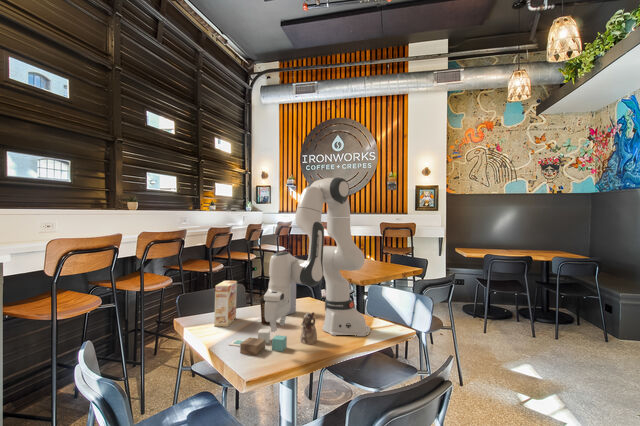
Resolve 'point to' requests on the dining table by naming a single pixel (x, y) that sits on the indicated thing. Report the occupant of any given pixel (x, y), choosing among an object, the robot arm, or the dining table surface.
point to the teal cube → (279, 343)
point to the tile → (236, 342)
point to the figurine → (308, 330)
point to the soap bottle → (292, 298)
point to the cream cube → (264, 335)
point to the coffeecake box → (225, 303)
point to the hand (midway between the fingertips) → (278, 327)
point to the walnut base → (252, 346)
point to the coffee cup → (263, 312)
